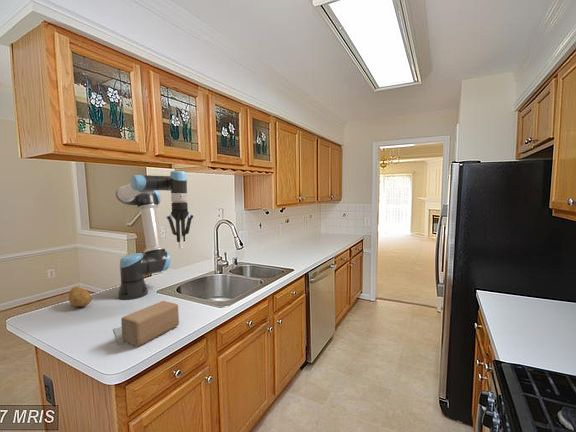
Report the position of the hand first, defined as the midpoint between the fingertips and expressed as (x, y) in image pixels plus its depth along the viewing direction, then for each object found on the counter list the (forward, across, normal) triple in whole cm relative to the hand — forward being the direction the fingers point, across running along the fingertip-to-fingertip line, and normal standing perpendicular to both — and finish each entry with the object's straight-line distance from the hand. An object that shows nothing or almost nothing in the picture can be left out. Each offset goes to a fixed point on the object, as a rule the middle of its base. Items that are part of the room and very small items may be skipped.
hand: (181, 248), depth 146 cm
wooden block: (+25, -10, -18) cm, 33 cm away
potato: (+31, -43, +33) cm, 62 cm away
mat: (+30, -22, -16) cm, 41 cm away
